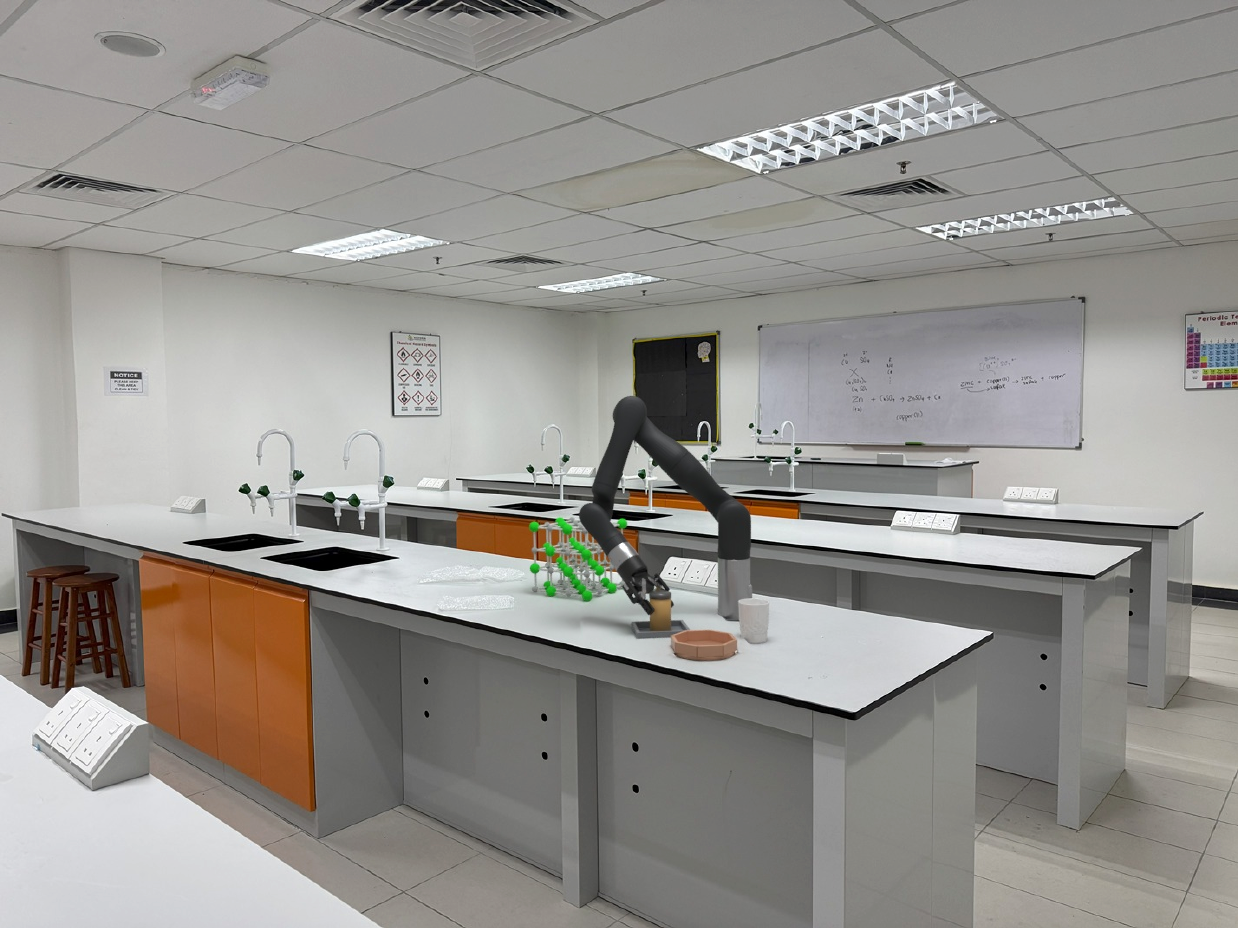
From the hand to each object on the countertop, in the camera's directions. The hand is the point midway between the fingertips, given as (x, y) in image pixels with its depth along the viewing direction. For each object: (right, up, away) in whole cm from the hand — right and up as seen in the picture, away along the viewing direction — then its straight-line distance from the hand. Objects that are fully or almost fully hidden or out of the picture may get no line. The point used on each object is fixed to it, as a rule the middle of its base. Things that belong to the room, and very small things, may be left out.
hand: (662, 610), depth 216 cm
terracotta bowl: (+9, -7, -15) cm, 19 cm away
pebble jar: (0, -6, +1) cm, 6 cm away
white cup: (+23, -7, -5) cm, 25 cm away
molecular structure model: (-24, -5, +59) cm, 64 cm away
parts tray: (0, -7, +1) cm, 7 cm away
